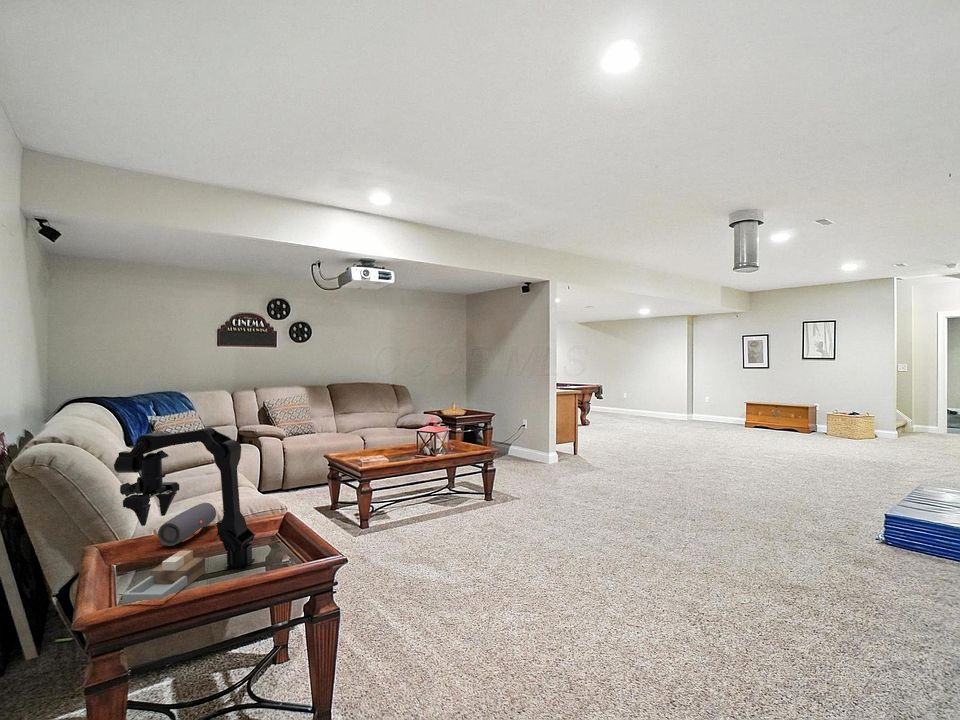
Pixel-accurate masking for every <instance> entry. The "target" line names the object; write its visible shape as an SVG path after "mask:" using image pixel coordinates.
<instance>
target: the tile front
mask: <svg viewBox="0 0 960 720" xmlns="http://www.w3.org/2000/svg"><path fill="white" fill-rule="evenodd" d="M161 564H162V571H163V570H177V569H179V568H180V567H181V566H183V565H184V556H172V555H171V556H169V557H168V558H166V559H164V560H163V561H162V562H161Z"/></svg>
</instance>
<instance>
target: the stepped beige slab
mask: <svg viewBox="0 0 960 720" xmlns="http://www.w3.org/2000/svg"><path fill="white" fill-rule="evenodd" d="M149 573H150V575H149V576H154V584H173V583H175V582H176V581H177V580H179V579H180V578H181V577H183V576H187V587H188V586H189V585H191V584H192V583H193V582H195V581H196V580H198V579H199V578H200V577H202V576H203V574H205V573H206V558H205V557H193V559H192V560H190V561H189V562H187V563H186V564H184V565H183V566H181V567H180V568H179V569H177V570H163V571H162V563H160V564H159V565H157V566H156V567H154V568H152V569H151V570H150V572H149Z"/></svg>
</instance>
